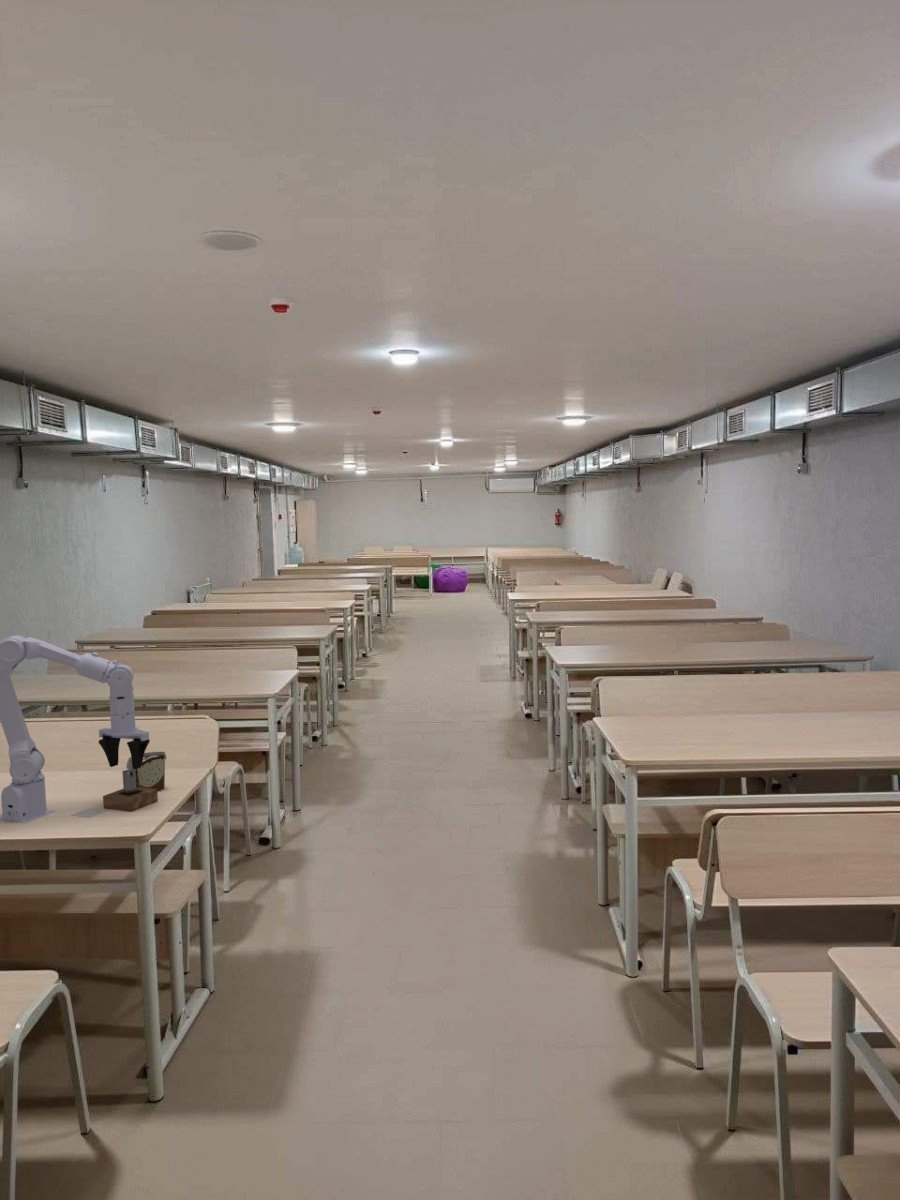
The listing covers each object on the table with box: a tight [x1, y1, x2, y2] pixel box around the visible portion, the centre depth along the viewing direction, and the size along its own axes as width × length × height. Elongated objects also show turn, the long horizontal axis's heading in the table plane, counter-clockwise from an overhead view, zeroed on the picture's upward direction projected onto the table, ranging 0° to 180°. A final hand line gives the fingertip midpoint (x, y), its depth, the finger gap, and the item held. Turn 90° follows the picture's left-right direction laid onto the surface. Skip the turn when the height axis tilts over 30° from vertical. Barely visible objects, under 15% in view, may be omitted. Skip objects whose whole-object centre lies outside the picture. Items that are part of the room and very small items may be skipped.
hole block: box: [102, 787, 159, 813], centre depth 221 cm, size 9×9×4 cm
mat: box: [70, 807, 109, 819], centre depth 215 cm, size 6×6×1 cm
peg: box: [121, 769, 137, 796], centre depth 221 cm, size 3×3×9 cm
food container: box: [125, 751, 167, 793], centre depth 232 cm, size 12×6×10 cm, turn 160°
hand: (125, 767), depth 221 cm, fingers open, 7 cm apart
